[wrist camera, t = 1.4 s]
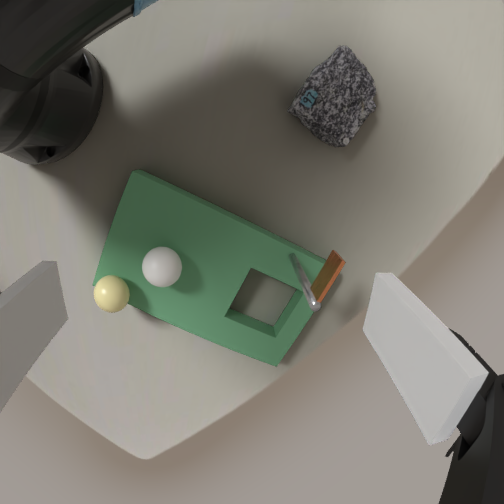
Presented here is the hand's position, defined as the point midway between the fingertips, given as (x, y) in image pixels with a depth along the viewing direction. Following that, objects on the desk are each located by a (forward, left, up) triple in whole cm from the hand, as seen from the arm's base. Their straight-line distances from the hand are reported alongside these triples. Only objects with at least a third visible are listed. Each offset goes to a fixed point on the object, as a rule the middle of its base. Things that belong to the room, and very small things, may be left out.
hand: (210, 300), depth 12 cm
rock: (+4, +15, -23) cm, 28 cm away
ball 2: (-4, -8, -18) cm, 20 cm away
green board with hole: (+1, -8, -22) cm, 23 cm away
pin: (+8, 0, -20) cm, 21 cm away
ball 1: (-8, -13, -18) cm, 23 cm away
